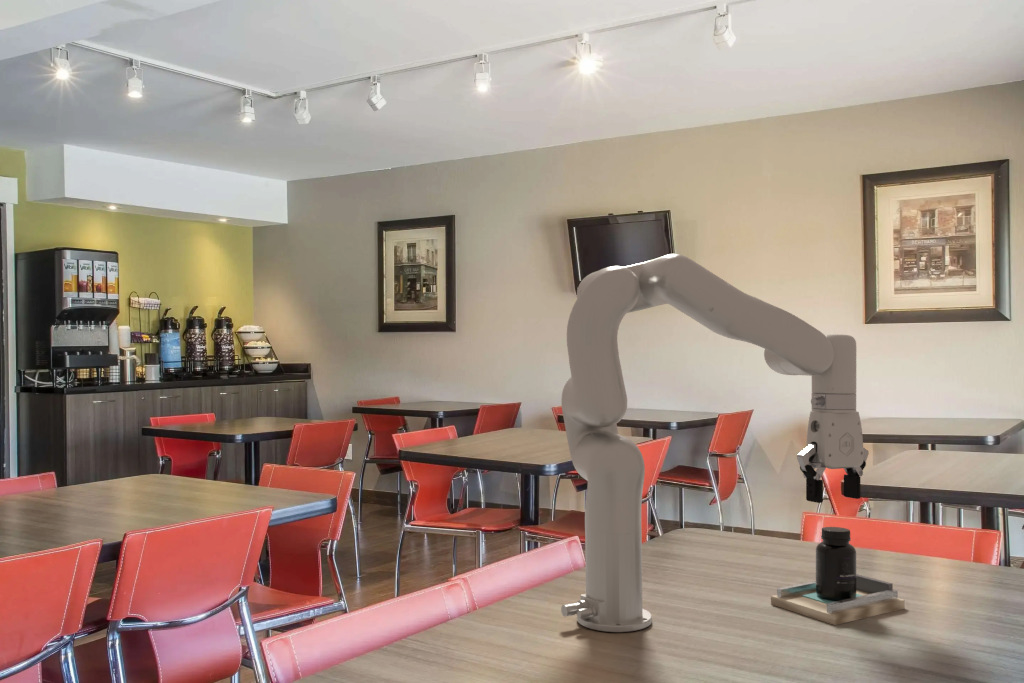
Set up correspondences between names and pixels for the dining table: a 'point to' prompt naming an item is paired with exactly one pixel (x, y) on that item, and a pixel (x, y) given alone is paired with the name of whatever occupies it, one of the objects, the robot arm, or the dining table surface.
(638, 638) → the dining table surface
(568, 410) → the robot arm
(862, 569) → the dining table surface
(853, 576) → the supplement bottle
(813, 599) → the board
